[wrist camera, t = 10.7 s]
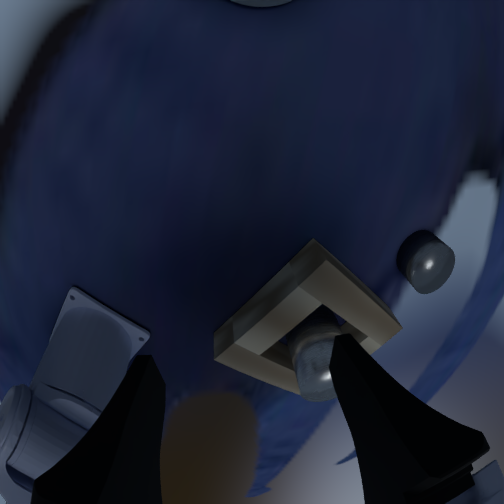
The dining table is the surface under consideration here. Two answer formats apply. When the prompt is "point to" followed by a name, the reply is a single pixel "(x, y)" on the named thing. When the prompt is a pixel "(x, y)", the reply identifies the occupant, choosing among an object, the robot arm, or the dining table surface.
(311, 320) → the tall metal pin
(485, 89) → the dining table surface
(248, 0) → the beverage can
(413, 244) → the short metal stub
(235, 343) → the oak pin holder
